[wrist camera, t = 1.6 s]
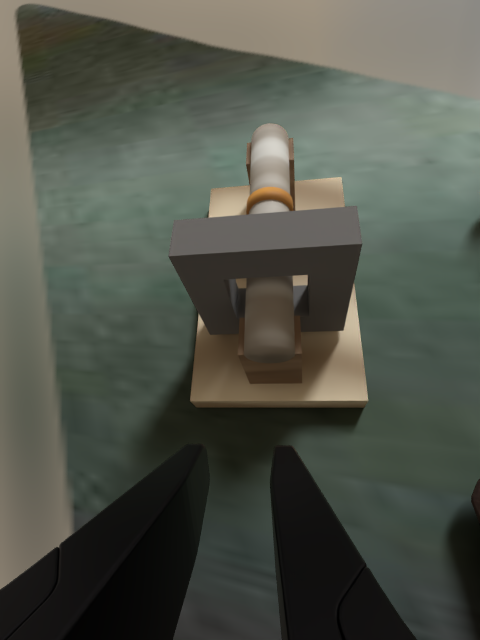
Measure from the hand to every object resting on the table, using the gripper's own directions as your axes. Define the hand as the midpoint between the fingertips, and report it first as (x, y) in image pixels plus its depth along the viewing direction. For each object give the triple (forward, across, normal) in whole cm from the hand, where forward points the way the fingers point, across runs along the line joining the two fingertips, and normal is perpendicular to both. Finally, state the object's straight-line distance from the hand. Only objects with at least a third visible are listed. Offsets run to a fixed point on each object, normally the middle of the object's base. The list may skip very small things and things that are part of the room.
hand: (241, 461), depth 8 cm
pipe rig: (+19, 0, 0) cm, 19 cm away
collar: (+15, 0, +1) cm, 15 cm away
